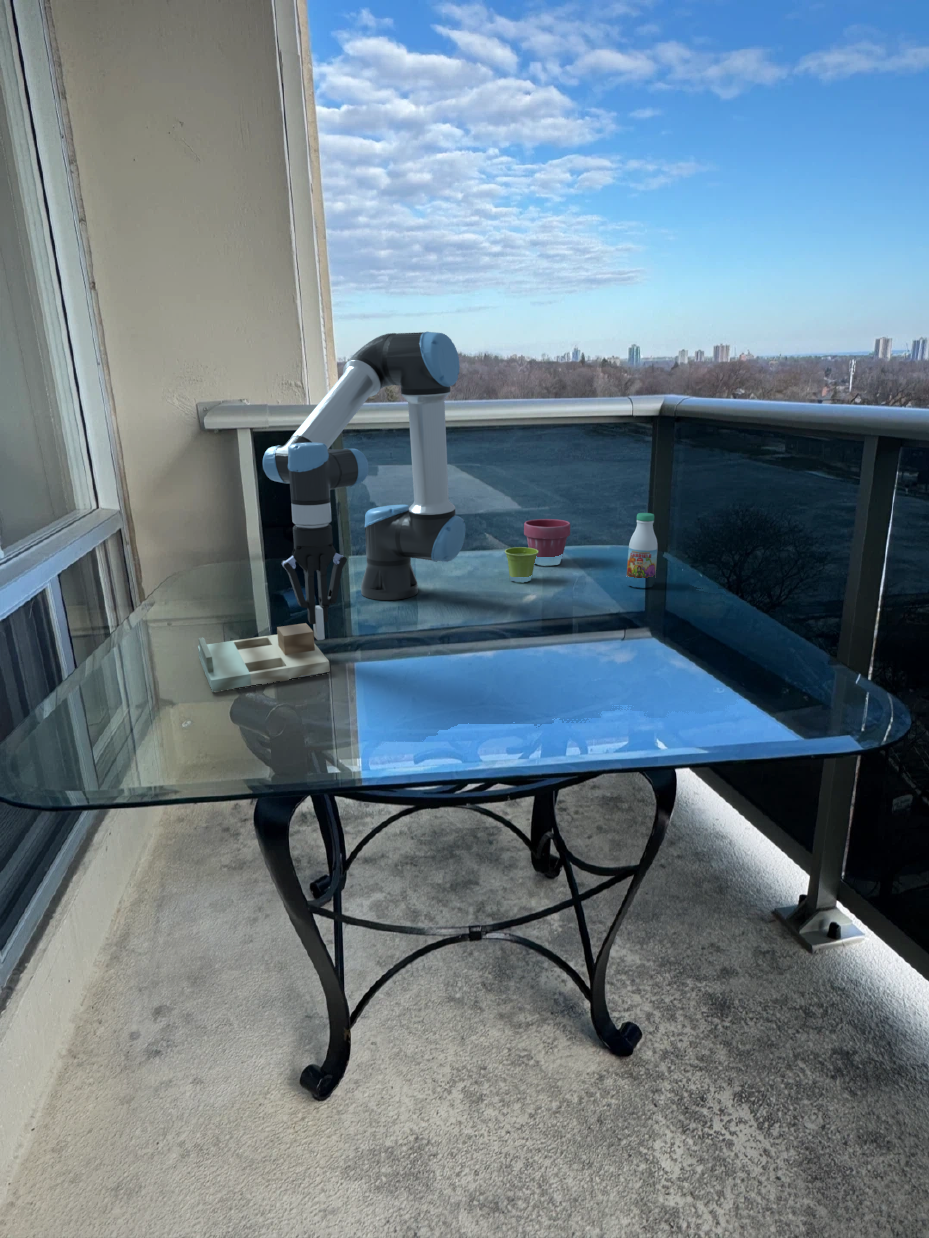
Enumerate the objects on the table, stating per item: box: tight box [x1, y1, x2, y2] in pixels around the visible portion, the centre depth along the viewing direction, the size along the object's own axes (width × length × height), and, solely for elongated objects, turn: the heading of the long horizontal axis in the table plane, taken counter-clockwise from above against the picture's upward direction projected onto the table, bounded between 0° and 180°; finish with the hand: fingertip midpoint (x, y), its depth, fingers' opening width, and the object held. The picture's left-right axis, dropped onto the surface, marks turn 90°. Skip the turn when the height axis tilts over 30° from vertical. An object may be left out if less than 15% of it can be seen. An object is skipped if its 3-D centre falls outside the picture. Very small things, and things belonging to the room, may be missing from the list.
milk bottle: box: [626, 512, 658, 578], centre depth 201 cm, size 8×8×20 cm
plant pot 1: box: [504, 546, 538, 577], centre depth 207 cm, size 9×9×9 cm
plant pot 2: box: [523, 518, 571, 557], centre depth 226 cm, size 14×14×13 cm
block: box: [276, 622, 315, 655], centre depth 149 cm, size 6×6×4 cm
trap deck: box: [197, 634, 331, 693], centre depth 147 cm, size 22×20×6 cm
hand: (319, 637), depth 151 cm, fingers closed
